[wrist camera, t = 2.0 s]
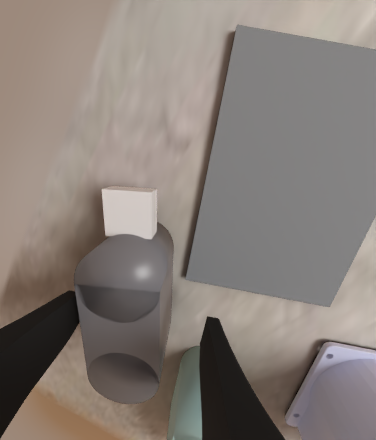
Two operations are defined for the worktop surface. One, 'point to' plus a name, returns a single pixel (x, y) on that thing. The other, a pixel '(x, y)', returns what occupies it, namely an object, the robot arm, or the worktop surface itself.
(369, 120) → the mat
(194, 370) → the teal plug
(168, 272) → the plug
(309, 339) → the worktop surface
